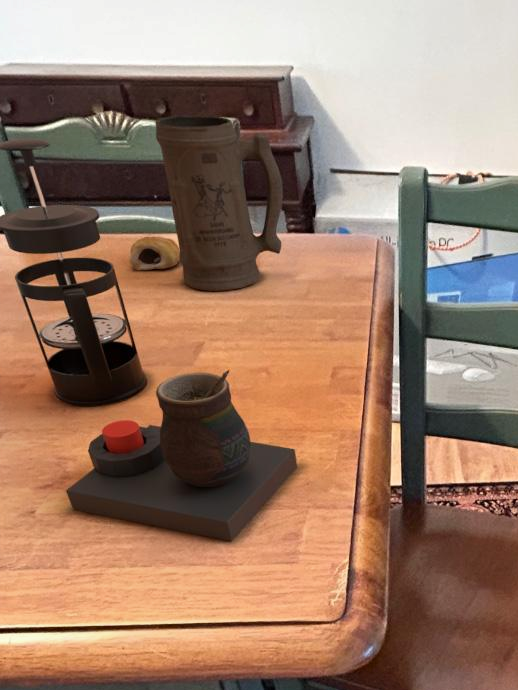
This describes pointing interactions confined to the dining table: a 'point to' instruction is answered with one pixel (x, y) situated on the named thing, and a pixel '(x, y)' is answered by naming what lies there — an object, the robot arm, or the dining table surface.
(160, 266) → the pastry
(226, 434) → the mate gourd
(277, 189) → the beer stein
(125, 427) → the button
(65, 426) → the dining table surface
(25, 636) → the dining table surface
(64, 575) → the dining table surface
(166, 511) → the scale
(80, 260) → the french press
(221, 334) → the dining table surface
